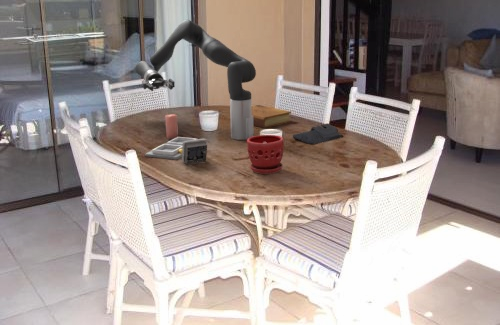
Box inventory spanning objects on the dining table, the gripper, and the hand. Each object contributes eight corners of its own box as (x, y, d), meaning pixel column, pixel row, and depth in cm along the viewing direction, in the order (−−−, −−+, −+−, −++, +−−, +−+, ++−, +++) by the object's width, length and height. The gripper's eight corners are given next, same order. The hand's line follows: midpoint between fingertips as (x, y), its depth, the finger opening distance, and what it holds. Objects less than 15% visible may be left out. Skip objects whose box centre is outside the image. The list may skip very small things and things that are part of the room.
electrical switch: (204, 159, 221) (204, 136, 218) (209, 164, 217) (209, 141, 213) (181, 162, 218) (181, 139, 214) (185, 167, 213) (185, 144, 210)
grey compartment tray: (203, 143, 242) (203, 138, 242) (176, 159, 221) (176, 153, 220) (174, 141, 247) (174, 135, 247) (145, 156, 226) (144, 150, 225)
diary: (231, 121, 283) (230, 110, 282) (258, 116, 295) (258, 105, 294) (263, 129, 267) (263, 117, 265) (291, 122, 279) (291, 111, 278)
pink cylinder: (180, 136, 255) (178, 114, 252) (174, 139, 250) (173, 117, 247) (170, 135, 256) (168, 114, 253) (164, 138, 252) (163, 116, 249)
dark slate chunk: (286, 139, 249) (286, 129, 247) (320, 131, 263) (320, 121, 261) (312, 146, 238) (312, 135, 236) (346, 137, 252) (347, 126, 250)
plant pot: (281, 164, 213) (281, 133, 210) (285, 175, 201) (285, 142, 197) (246, 165, 213) (246, 134, 210) (248, 176, 201) (247, 143, 197)
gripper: (138, 72, 265) (145, 80, 251) (168, 70, 270) (177, 78, 256) (138, 87, 267) (146, 97, 254) (168, 85, 273) (177, 95, 259)
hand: (161, 88), depth 255 cm, fingers open, 8 cm apart
